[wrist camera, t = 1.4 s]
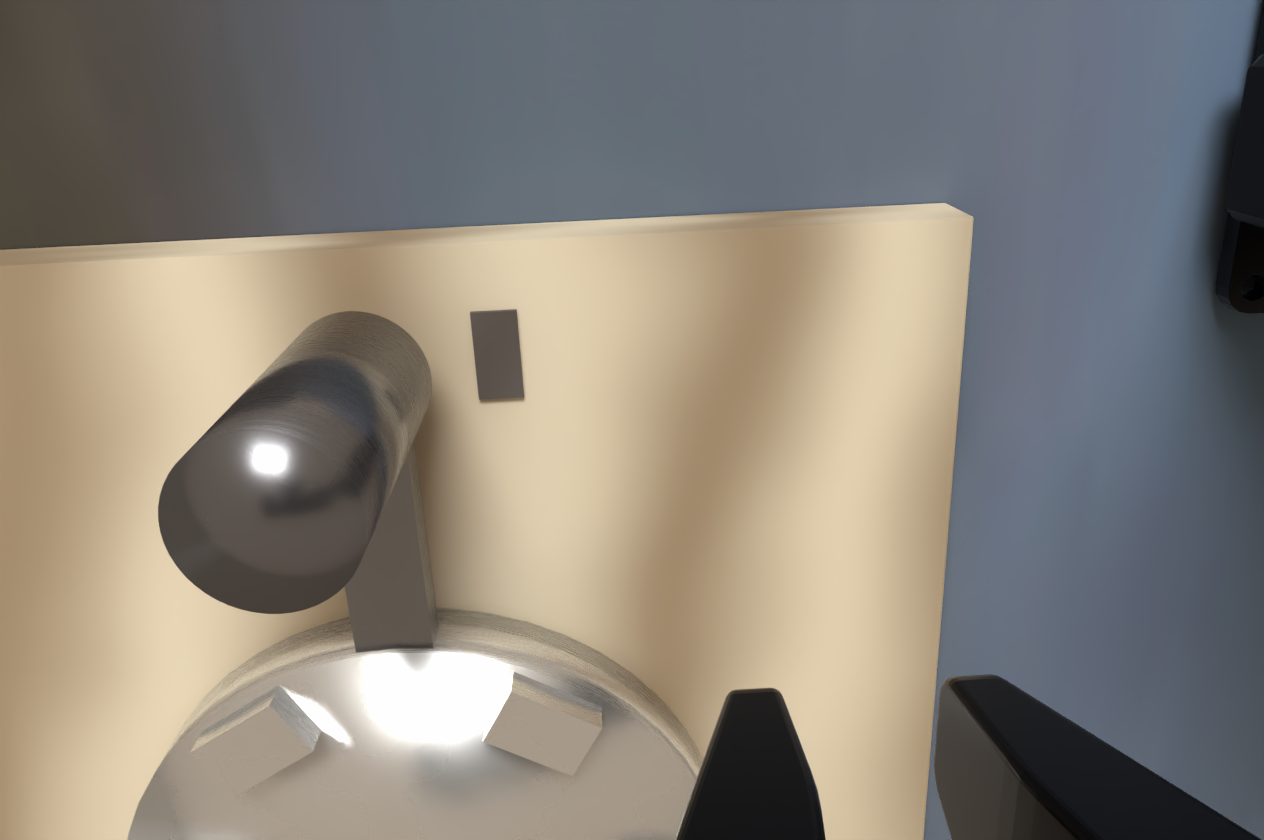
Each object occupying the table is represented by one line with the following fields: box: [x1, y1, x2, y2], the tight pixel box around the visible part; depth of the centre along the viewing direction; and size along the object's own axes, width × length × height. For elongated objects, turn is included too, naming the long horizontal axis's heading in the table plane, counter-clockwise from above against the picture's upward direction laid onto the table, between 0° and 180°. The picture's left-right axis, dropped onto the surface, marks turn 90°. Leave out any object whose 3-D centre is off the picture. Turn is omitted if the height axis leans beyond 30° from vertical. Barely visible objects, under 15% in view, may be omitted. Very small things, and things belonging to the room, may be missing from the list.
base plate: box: [0, 203, 974, 840], centre depth 21 cm, size 23×20×2 cm
